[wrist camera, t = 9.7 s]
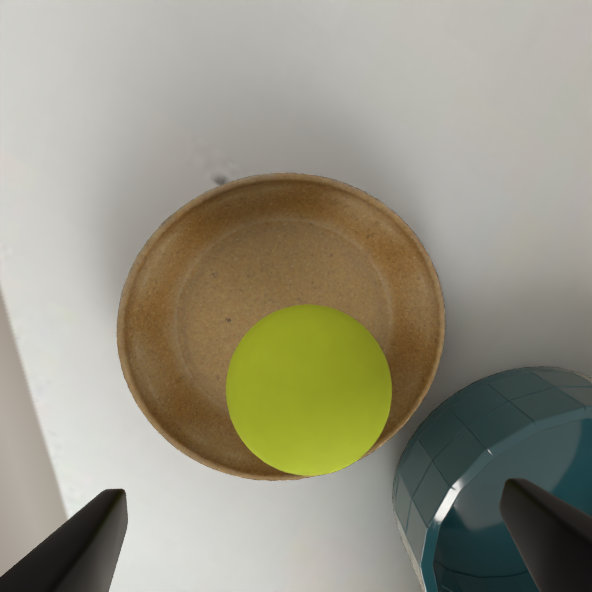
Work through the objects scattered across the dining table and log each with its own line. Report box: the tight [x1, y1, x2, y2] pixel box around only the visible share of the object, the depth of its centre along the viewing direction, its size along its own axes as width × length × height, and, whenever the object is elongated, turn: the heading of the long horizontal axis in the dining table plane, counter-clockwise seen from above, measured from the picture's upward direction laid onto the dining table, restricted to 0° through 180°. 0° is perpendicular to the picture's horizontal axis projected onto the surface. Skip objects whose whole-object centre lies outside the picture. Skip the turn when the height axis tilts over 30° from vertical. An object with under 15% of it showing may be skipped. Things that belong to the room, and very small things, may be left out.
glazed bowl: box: [392, 366, 592, 592], centre depth 21 cm, size 16×16×4 cm
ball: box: [226, 304, 392, 476], centre depth 13 cm, size 6×6×6 cm
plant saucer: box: [117, 173, 445, 481], centre depth 17 cm, size 15×15×3 cm
